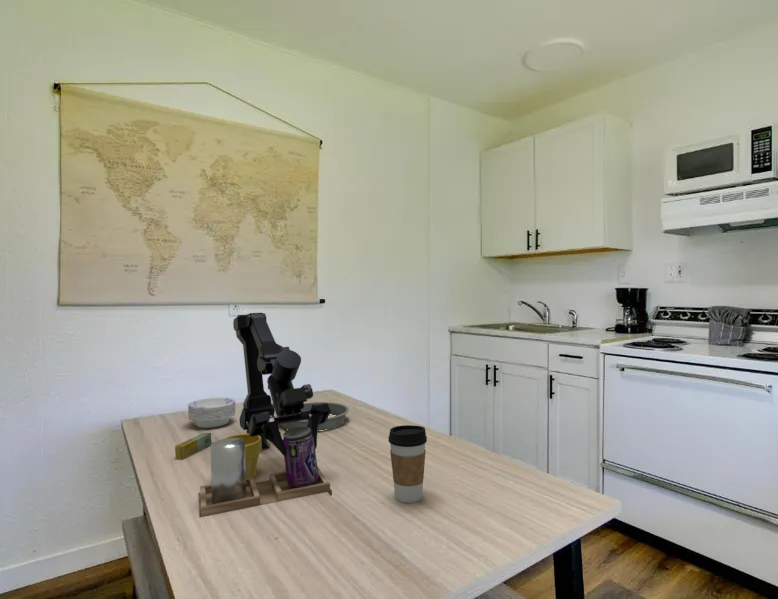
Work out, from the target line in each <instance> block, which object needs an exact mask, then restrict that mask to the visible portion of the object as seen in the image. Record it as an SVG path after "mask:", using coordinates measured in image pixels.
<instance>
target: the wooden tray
mask: <svg viewBox="0 0 778 599" xmlns="http://www.w3.org/2000/svg"><path fill="white" fill-rule="evenodd" d="M317 467H318V465H317ZM318 474H319V477H318V479H317V480H316V481H315V482H313V483H312V484H311V485H309V486H305V487H300V488H297V487H293V486H290V485H288V483H287V475H286V470H285V471H280V472H273V473H269V475H268V476H269V479H268V480H261V481H257V482H256V480H255V476H254V477H251V478H246V498H243V499H238V500H233V501H227V502H222V503H217V504H213V503H212V487H211V484H206V485H201V486H199V488H200V489H199V492H198V506H199V508H198V512H199V516H198V517H199V518H205V517H209V516H214V515H219V514H223V513H229V512H235V511H239V510H243V509H249V508H254V507H259V506H263V505H269V504H274V503H279V502H283V501H284V502H285V501H289V500H293V499H297V498H298V499H299V498H303V497H309V496H313V495H318V494H323V493H324V494H325V493H327V494H328V495H329V496H332V495H333V491H332V488H331V483H330V482H329V480H328V479H327V477H326V476H325V475H324V474H323V472H322V471H321V469H320V467H318Z"/></svg>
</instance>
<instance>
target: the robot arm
mask: <svg viewBox="0 0 778 599" xmlns="http://www.w3.org/2000/svg"><path fill="white" fill-rule="evenodd" d="M232 323H233V330H234V331H235V336H236V338H237V339H238V340H239V342H240V343H241V344H242V348H243V358H244V367H245V368H244V369H245V377H246V378H245V379H246V388H247V389H246V390H247V394H246V396H245V399H244V401H243V404H242V407H243V408H242V410H241V412H240V417H239V426H240V428H241V429H242V430H243V431H246V434H250V436H251V437H254V436H261V440H262V450H265V449H270V447H271V445H270V443H271V444H272V445H273V446H274V447H275V448H276V449H277V450H278V452H279V453H281V455H282V456H283V457H284V456H285V455H286V449H285V445H284V442H283V437H282V435H281V432H280V428H279V426H280V425H282V424H285V423H290V422H296V421H302V420H307V423H308V425H307V427H308V428H310V430H311V433H312V435H313V437H314V445H315V450H316V449H317V446H318V445H317V443H318V431H317V427H318V426H319V424H323V423H325V422H326V420H327V418H328V416H330V415H329V414H330V413H331V408H330V406H329V404H328V403H326V402H325V401H324V402H325V403H319V404H313V405H312V407H311V409H310V411H305V412H301V409H303V408H304V403H307V402H308V400H310V399H312V398H313V397H314V391H313V388H312V385H311V383H307V384H303V385H302V386H300V387H296V388H295V387H294V384H293V380H296V379H295V378H296V376H297V373H298V371H299V368H300V366H301V363H302V357H301V355H300V354H298V353H297V352H296V351H294V350H291V349H290V346H282V345H280V344H278V343H277V342H276V340H275V337H274V336H273V333H272V331H271V329H270V326H269V324H268V322H267V315H266V313H263V312H250V313H247V314H238V315H237V316H236V317H235V318H233V322H232ZM265 375H269V376H268V377H267V390H269V393H270V395H269V394H268V393H267V392H266V391H265V389H264V388H265V387H264V386H265V385H264V379H263V378H264V377H263V376H265ZM275 415H276V416H275ZM268 441H269V442H270V443H269V442H268Z"/></svg>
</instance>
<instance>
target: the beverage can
mask: <svg viewBox="0 0 778 599" xmlns="http://www.w3.org/2000/svg"><path fill="white" fill-rule="evenodd" d="M282 436H283V437H282V440H283V442H284V445H285V449H286V455H285V456H284V455H283V458H284V465H285V466H284V467H285V468H284V469H285V471H286V475H287V483H288V485H290V486H293V487H297V488H300V487H305V486H309V485H311V484H312V483H313V482H315V481H316V480H317V479H318V477H319V474H318V468H319V467H317V466H318V460H317V453H316V449H315V445H314V437H313V435H312V433H311V430H310V428H308V427H296V428H292V429H289V430H287V429H286V431H284V432H283V433H282Z"/></svg>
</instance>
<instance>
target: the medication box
mask: <svg viewBox="0 0 778 599" xmlns="http://www.w3.org/2000/svg"><path fill="white" fill-rule="evenodd" d="M211 444H212V433H211V432H203V433H199V434H198V435H196V436H194V437H191V438H189V439H187V440H185V441H182V442H181V443H178V444H176V445H175V446H174V451H175V460H180V461H181V460H186V459H188V458H190V457H192V456H194V455H195V454H198V453H200V452H202V451H204V450H206V449H208V448H210V445H211Z"/></svg>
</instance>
